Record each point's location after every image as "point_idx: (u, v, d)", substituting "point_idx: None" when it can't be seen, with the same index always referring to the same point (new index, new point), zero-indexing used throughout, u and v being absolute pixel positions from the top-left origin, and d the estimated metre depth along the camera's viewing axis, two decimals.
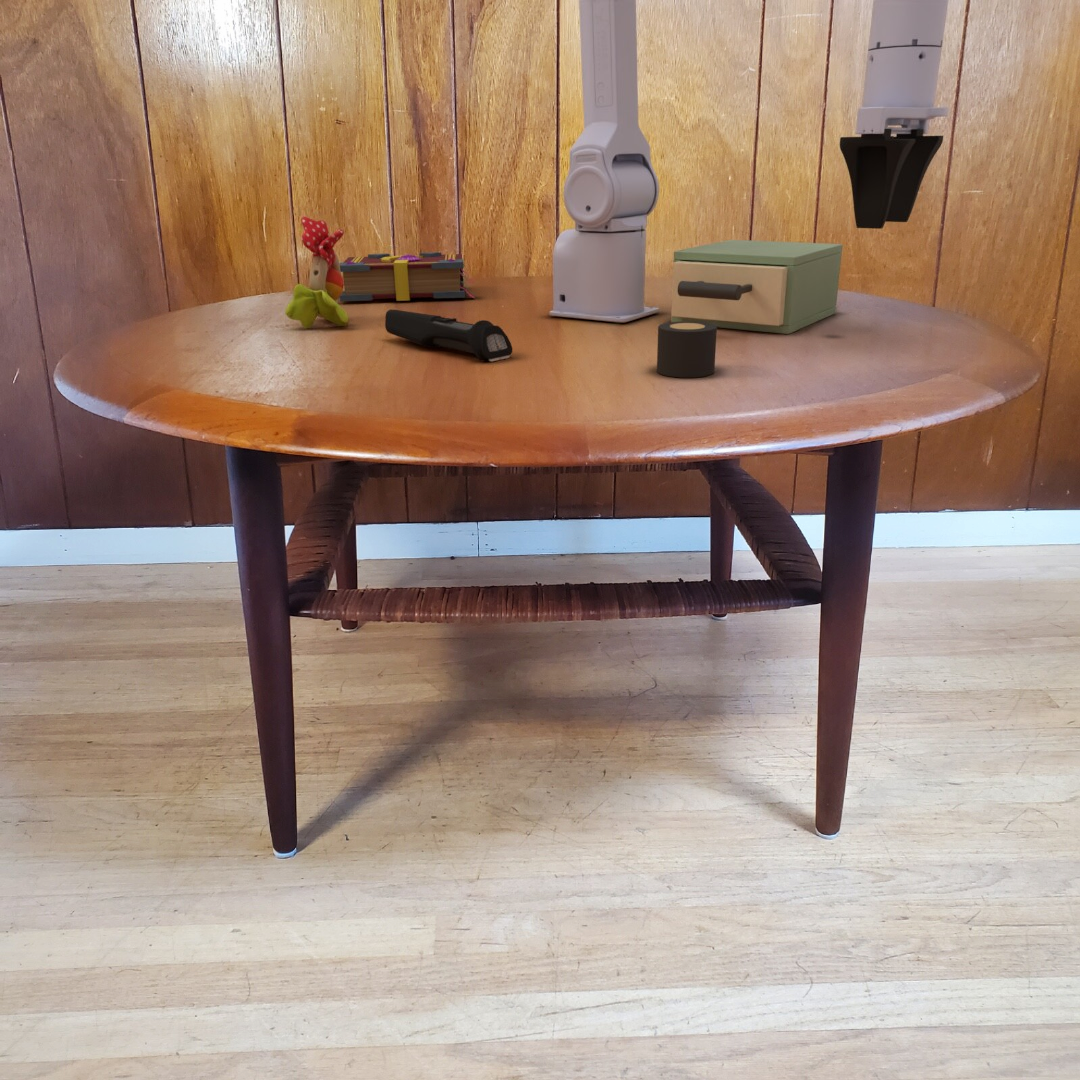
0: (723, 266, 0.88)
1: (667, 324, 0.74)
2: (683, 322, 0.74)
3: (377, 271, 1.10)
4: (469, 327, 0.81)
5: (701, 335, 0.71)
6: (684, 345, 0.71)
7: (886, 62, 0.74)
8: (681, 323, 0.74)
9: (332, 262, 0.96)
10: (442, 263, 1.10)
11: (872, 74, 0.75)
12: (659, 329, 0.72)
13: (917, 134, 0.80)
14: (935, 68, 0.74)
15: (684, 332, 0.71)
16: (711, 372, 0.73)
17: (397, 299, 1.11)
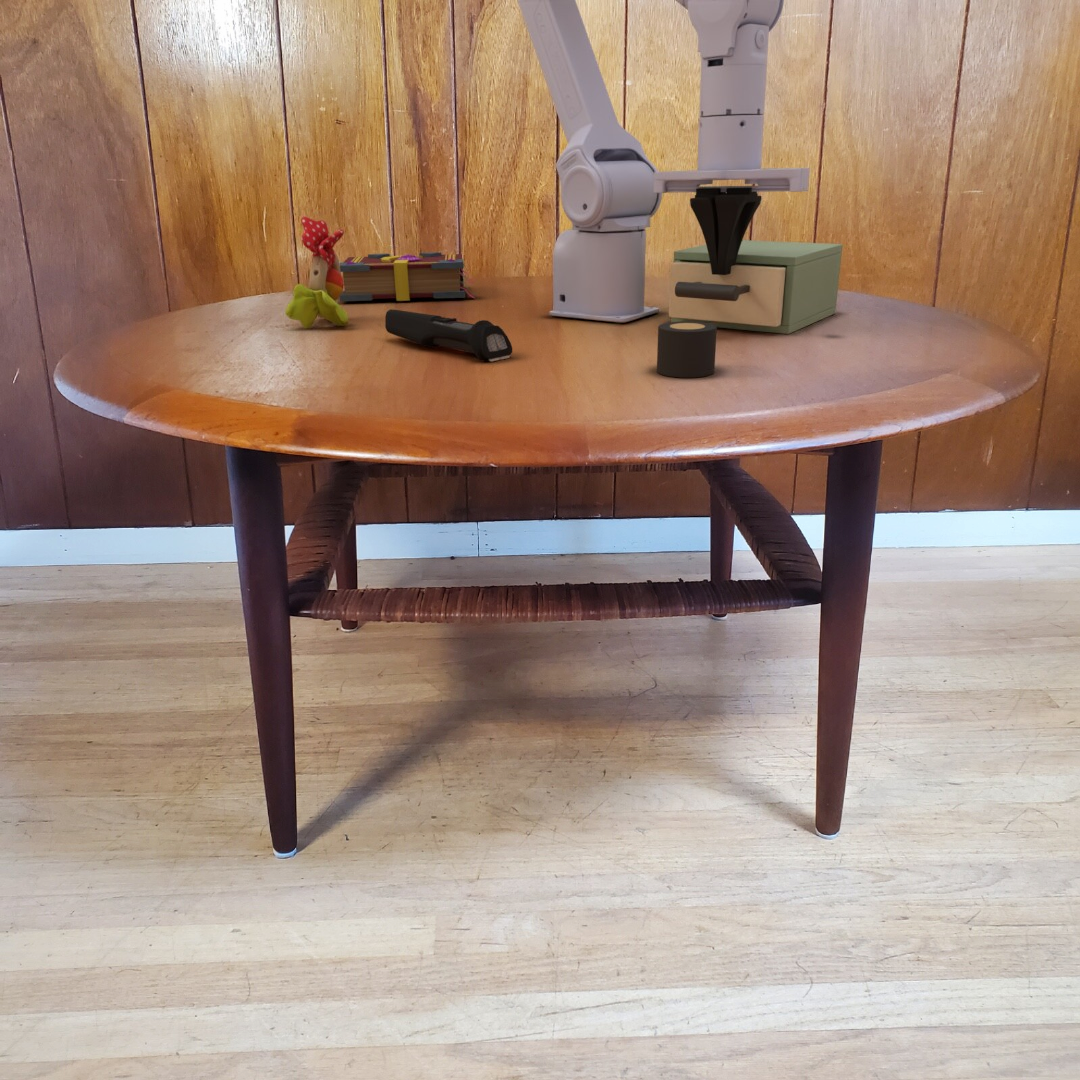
0: None
1: (667, 324, 0.74)
2: (683, 322, 0.74)
3: (377, 271, 1.10)
4: (469, 327, 0.81)
5: (701, 335, 0.71)
6: (684, 345, 0.71)
7: None
8: (681, 323, 0.74)
9: (332, 262, 0.96)
10: (442, 263, 1.10)
11: None
12: (659, 329, 0.72)
13: (730, 192, 0.84)
14: (711, 136, 0.81)
15: (684, 332, 0.71)
16: (711, 372, 0.73)
17: (397, 299, 1.11)
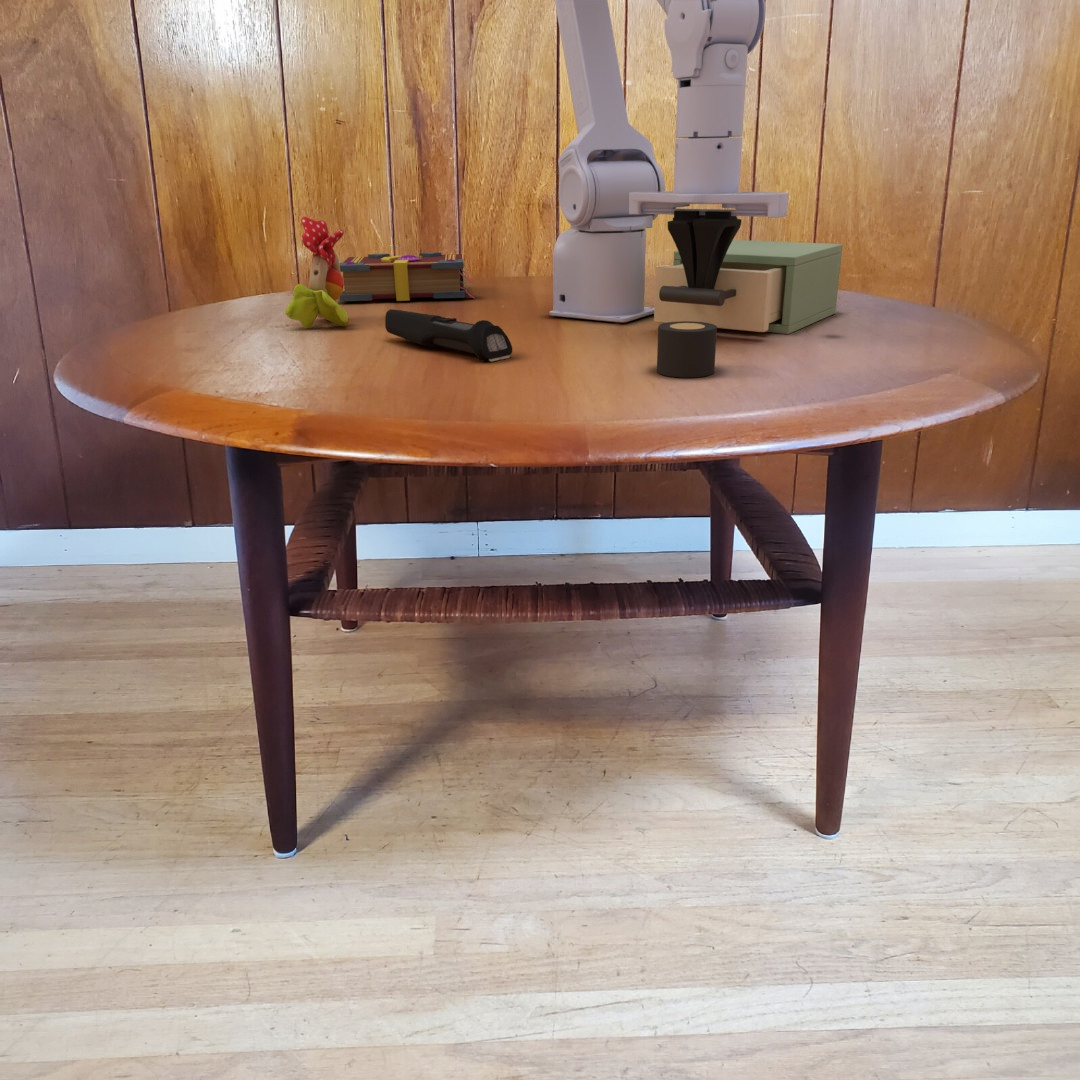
0: None
1: (667, 324, 0.74)
2: (683, 322, 0.74)
3: (377, 271, 1.10)
4: (469, 327, 0.81)
5: (701, 335, 0.71)
6: (684, 345, 0.71)
7: None
8: (681, 323, 0.74)
9: (332, 262, 0.96)
10: (442, 263, 1.10)
11: None
12: (659, 329, 0.72)
13: (708, 216, 0.81)
14: (687, 158, 0.78)
15: (684, 332, 0.71)
16: (711, 372, 0.73)
17: (397, 299, 1.11)
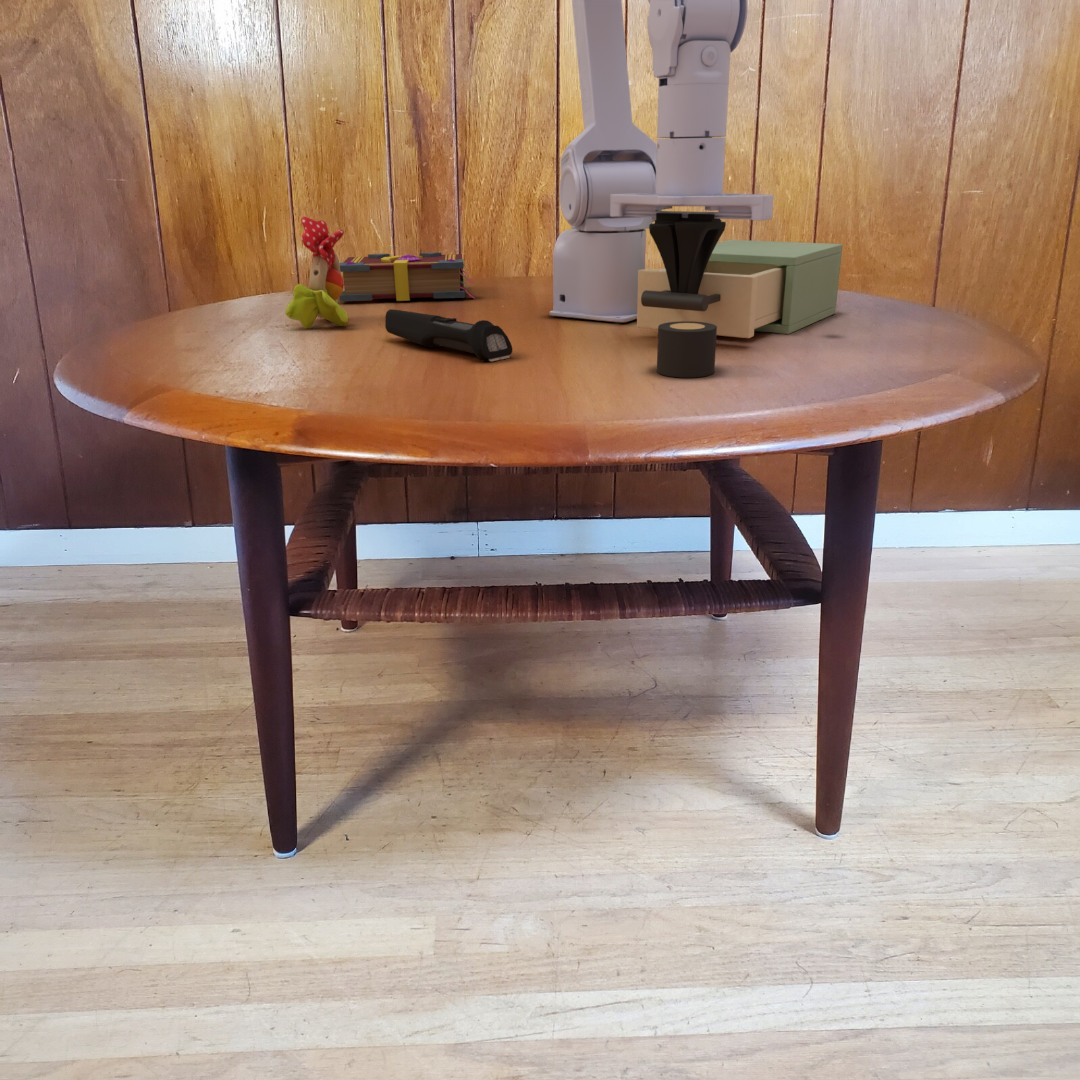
0: None
1: (667, 324, 0.74)
2: (683, 322, 0.74)
3: (377, 271, 1.10)
4: (469, 327, 0.81)
5: (701, 335, 0.71)
6: (684, 345, 0.71)
7: None
8: (681, 323, 0.74)
9: (332, 262, 0.96)
10: (442, 263, 1.10)
11: None
12: (659, 329, 0.72)
13: (691, 219, 0.78)
14: (669, 159, 0.76)
15: (684, 332, 0.71)
16: (711, 372, 0.73)
17: (397, 299, 1.11)
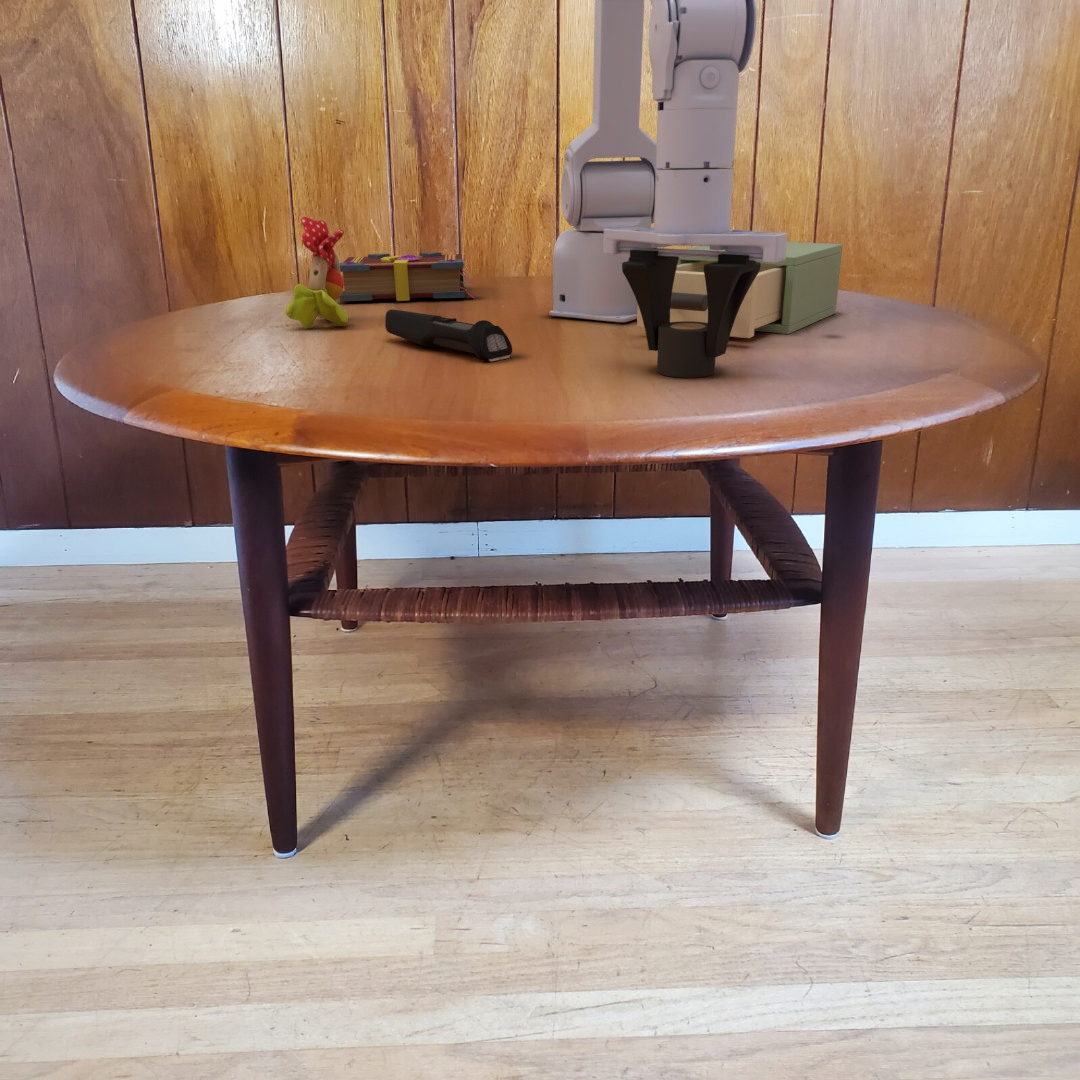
0: (690, 274, 0.83)
1: (667, 324, 0.74)
2: (683, 322, 0.74)
3: (377, 271, 1.10)
4: (469, 327, 0.81)
5: (702, 335, 0.71)
6: (684, 345, 0.71)
7: None
8: (681, 323, 0.74)
9: (332, 262, 0.96)
10: (442, 263, 1.10)
11: None
12: (659, 329, 0.72)
13: (722, 260, 0.68)
14: (669, 192, 0.67)
15: (684, 332, 0.71)
16: (711, 372, 0.73)
17: (397, 299, 1.11)
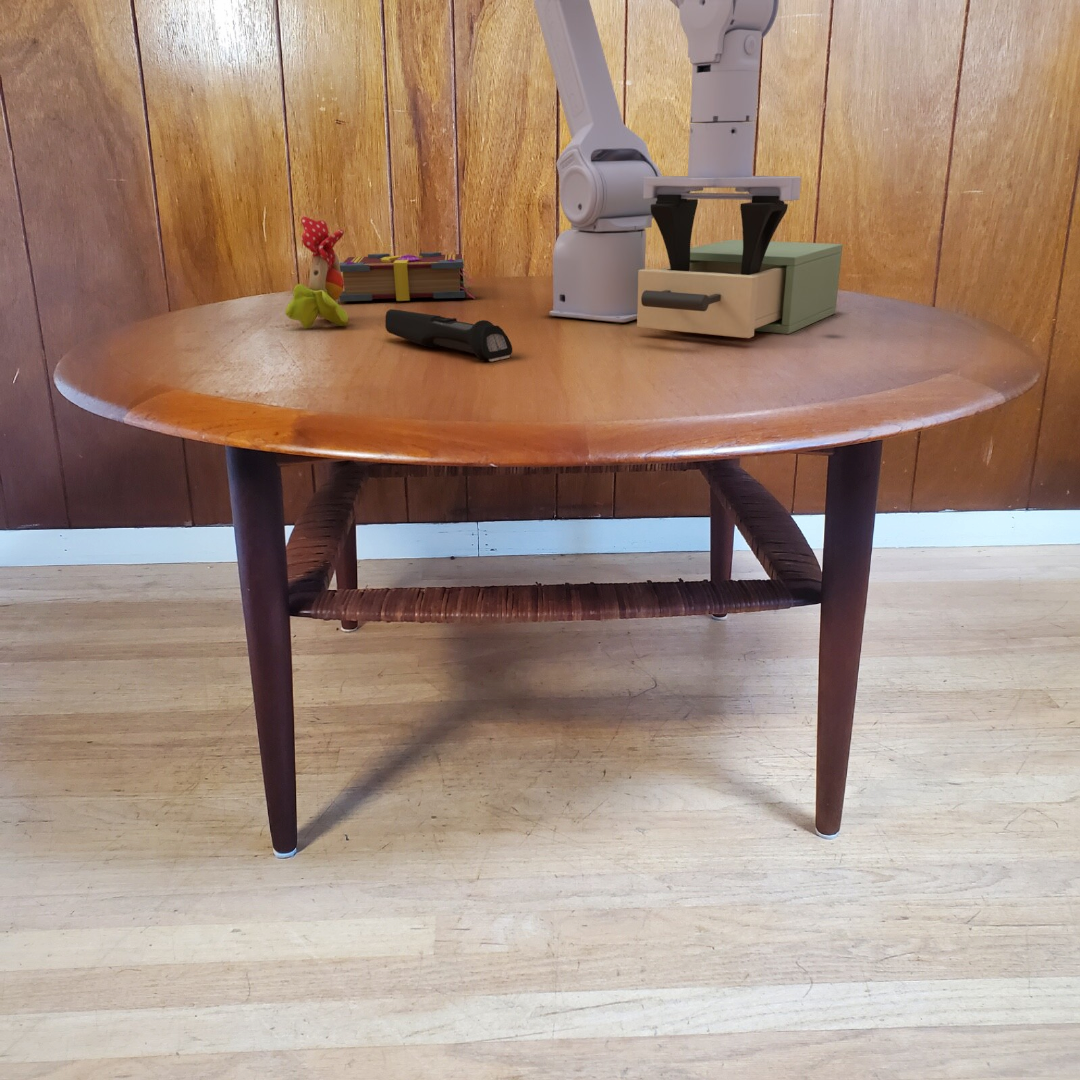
0: (690, 274, 0.83)
1: None
2: (710, 272, 0.88)
3: (377, 271, 1.10)
4: (469, 327, 0.81)
5: None
6: None
7: None
8: (708, 272, 0.87)
9: (332, 262, 0.96)
10: (442, 263, 1.10)
11: None
12: None
13: (755, 200, 0.81)
14: (702, 142, 0.80)
15: None
16: None
17: (397, 299, 1.11)
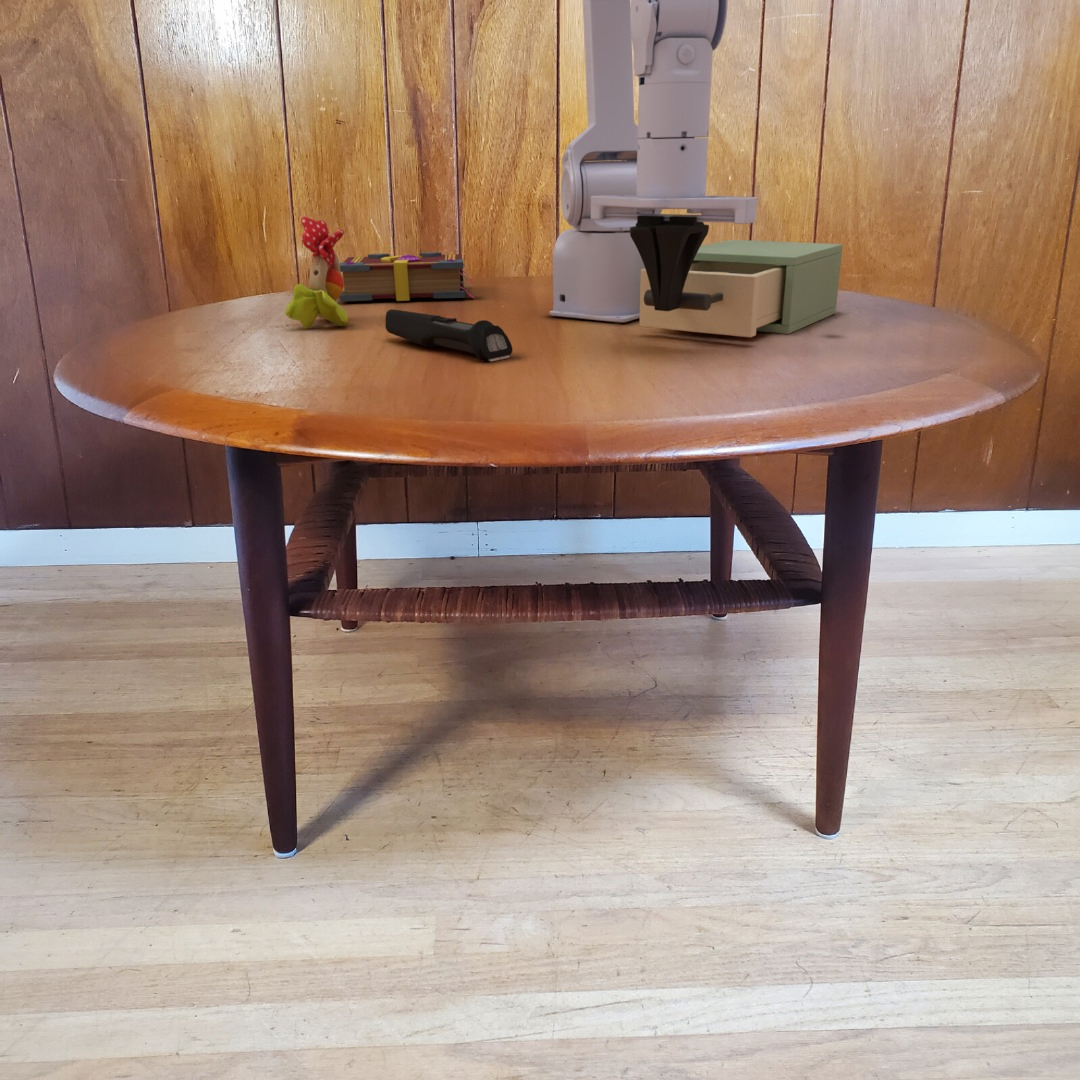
0: (692, 274, 0.83)
1: None
2: (712, 271, 0.88)
3: (377, 271, 1.10)
4: (469, 327, 0.81)
5: None
6: None
7: None
8: None
9: (332, 262, 0.96)
10: (442, 263, 1.10)
11: None
12: None
13: (673, 222, 0.76)
14: (649, 160, 0.73)
15: None
16: None
17: (397, 299, 1.11)
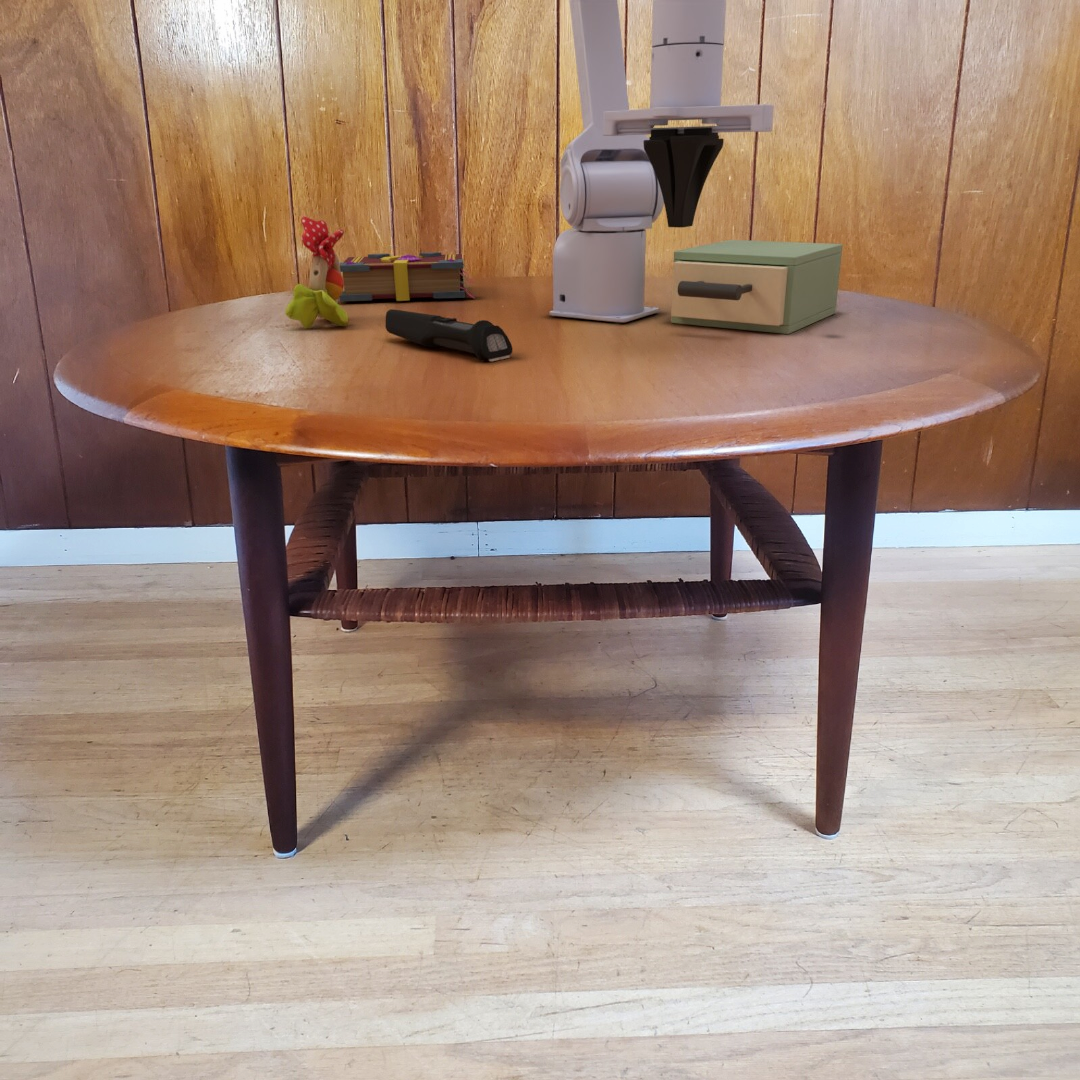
0: (723, 266, 0.88)
1: None
2: None
3: (377, 271, 1.10)
4: (469, 327, 0.81)
5: None
6: None
7: None
8: None
9: (332, 262, 0.96)
10: (442, 263, 1.10)
11: None
12: None
13: (687, 134, 0.75)
14: (664, 68, 0.72)
15: None
16: None
17: (397, 299, 1.11)
